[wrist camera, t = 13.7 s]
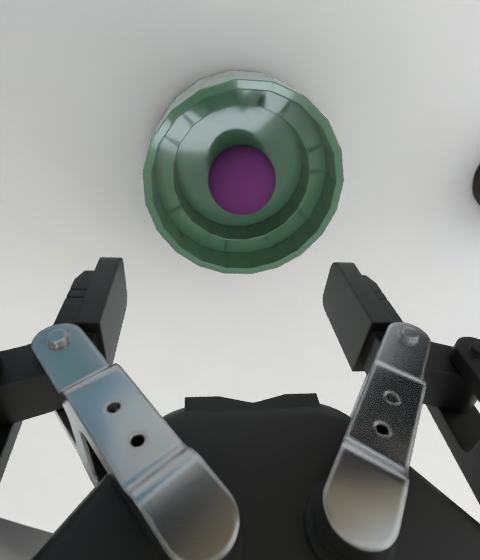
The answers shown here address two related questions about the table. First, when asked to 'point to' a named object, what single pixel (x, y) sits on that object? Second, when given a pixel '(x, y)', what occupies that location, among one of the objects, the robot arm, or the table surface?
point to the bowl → (254, 132)
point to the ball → (242, 179)
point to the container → (477, 186)
